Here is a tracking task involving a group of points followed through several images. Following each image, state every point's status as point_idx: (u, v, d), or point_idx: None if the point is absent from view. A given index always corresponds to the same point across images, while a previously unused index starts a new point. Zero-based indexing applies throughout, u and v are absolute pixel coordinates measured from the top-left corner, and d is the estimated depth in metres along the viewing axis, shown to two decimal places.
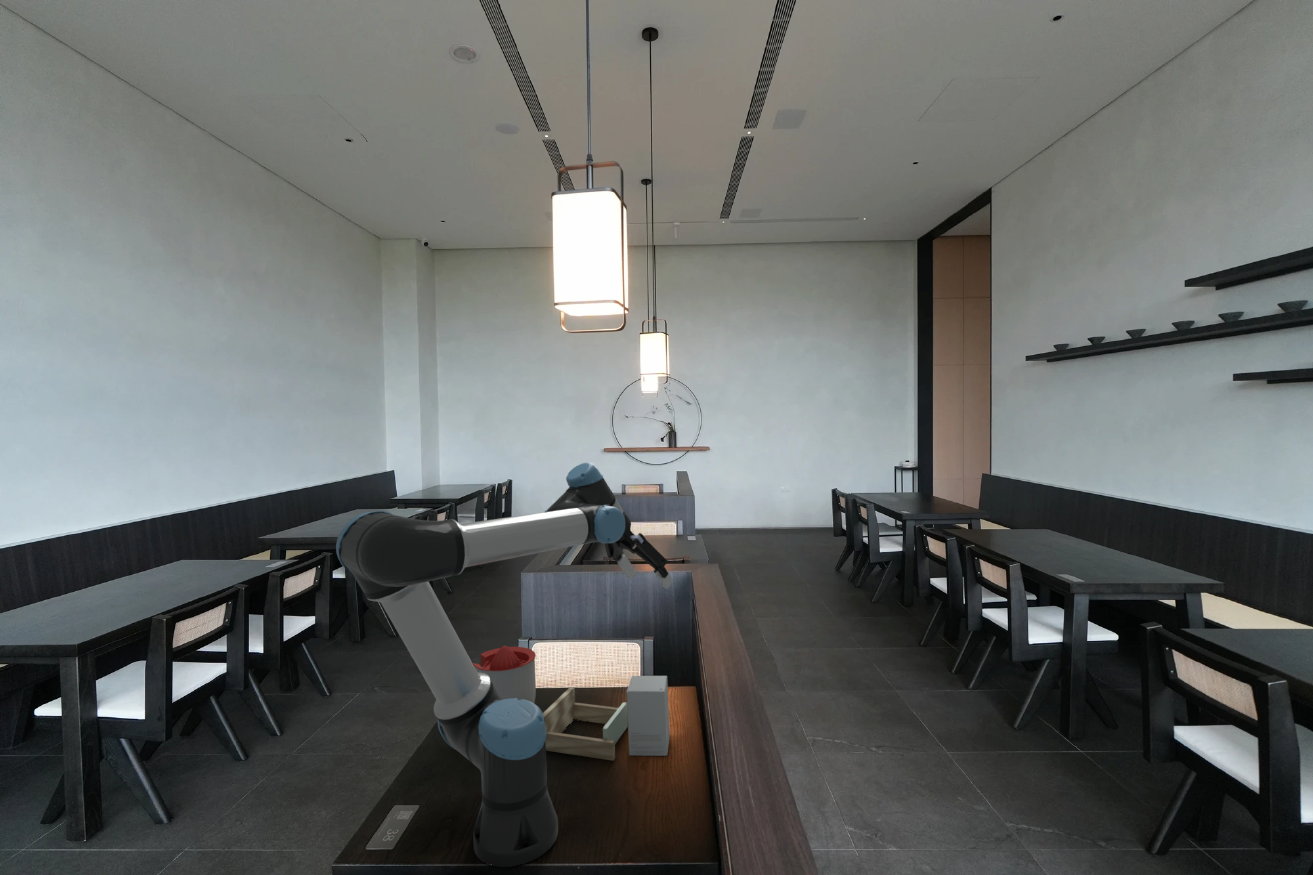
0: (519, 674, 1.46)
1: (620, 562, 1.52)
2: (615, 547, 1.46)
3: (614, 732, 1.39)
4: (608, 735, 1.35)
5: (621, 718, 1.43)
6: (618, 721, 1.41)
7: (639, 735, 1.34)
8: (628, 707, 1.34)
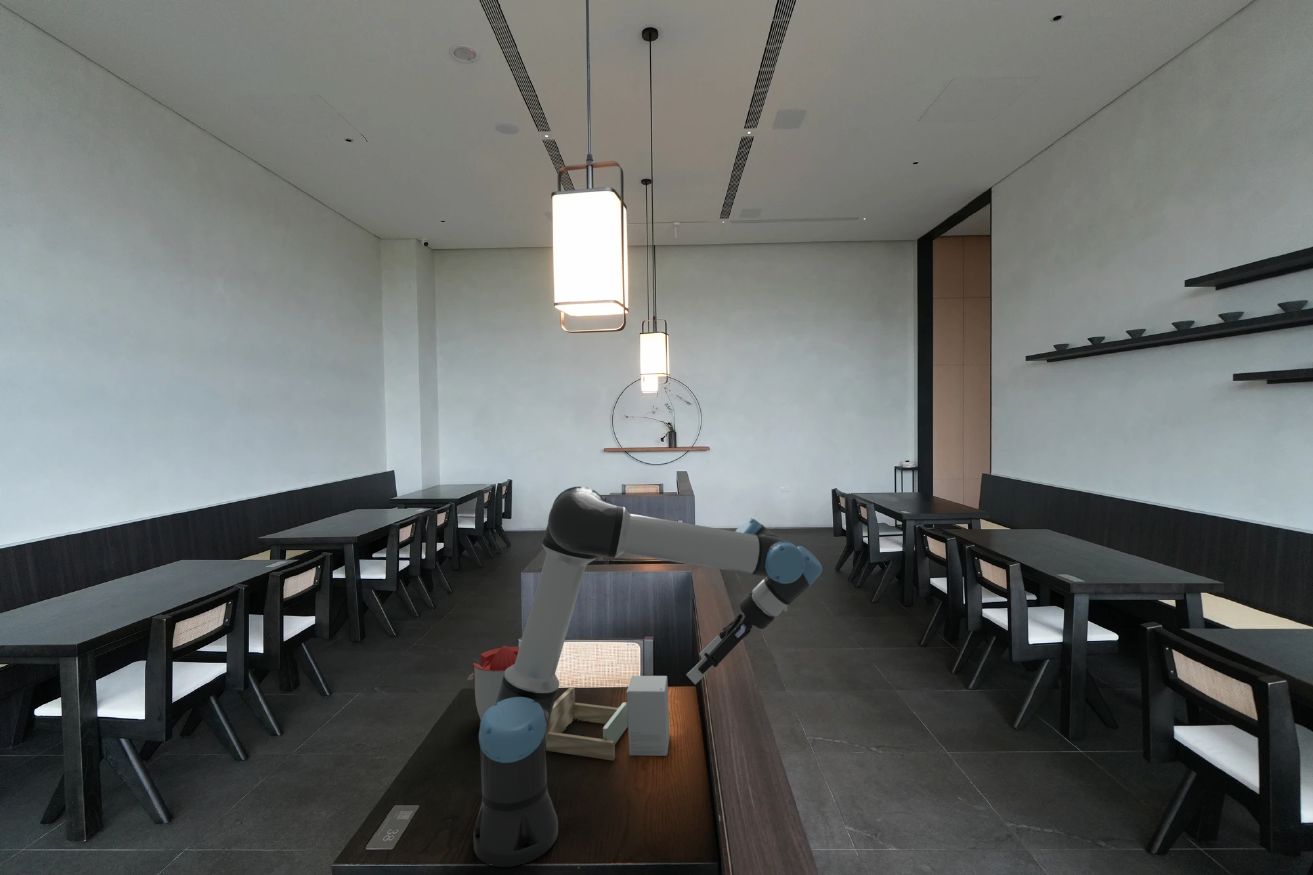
0: None
1: (717, 638, 1.39)
2: (733, 620, 1.34)
3: (614, 732, 1.39)
4: (608, 735, 1.35)
5: (621, 718, 1.43)
6: (618, 721, 1.41)
7: (639, 735, 1.34)
8: (628, 707, 1.34)
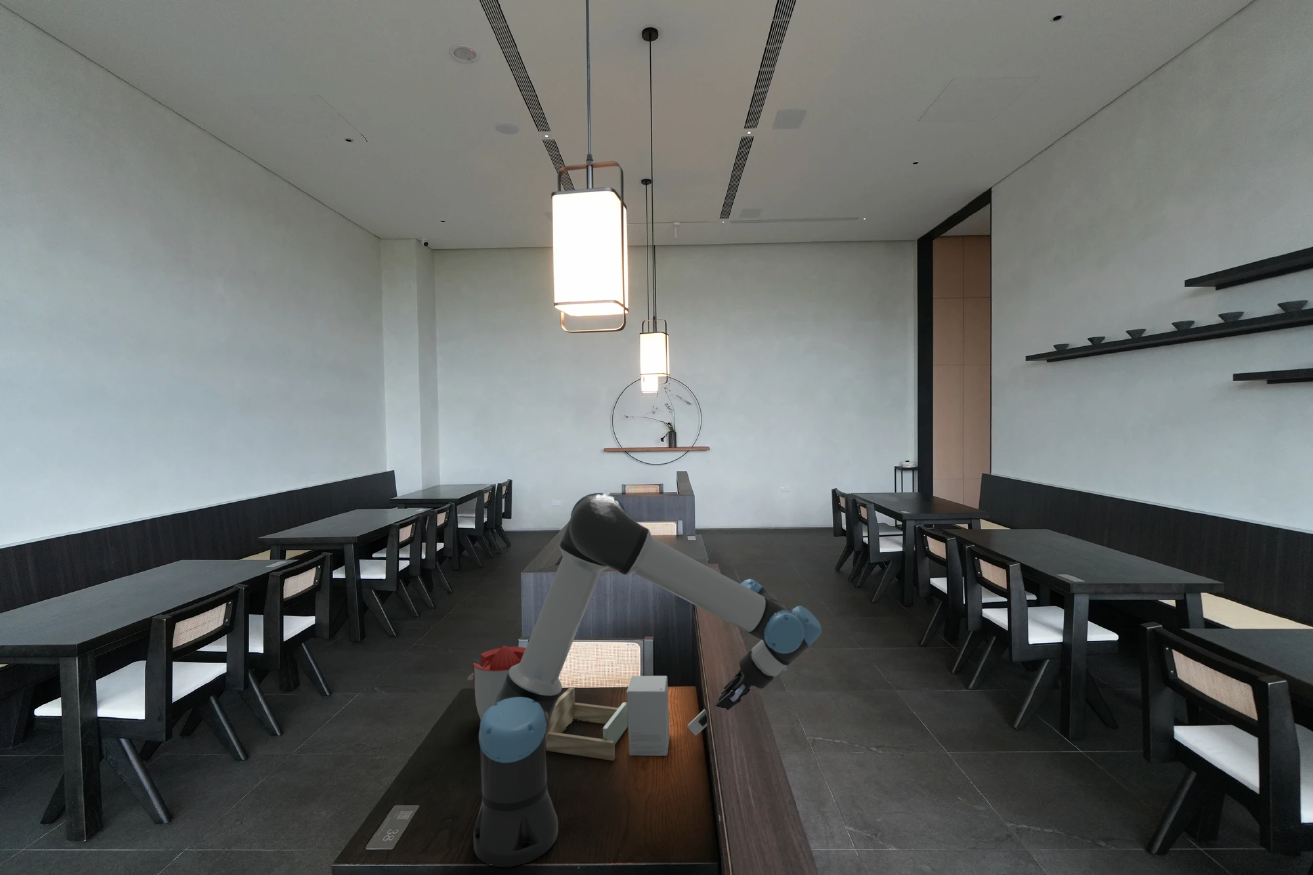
0: None
1: (706, 709, 1.34)
2: (731, 681, 1.33)
3: (614, 732, 1.39)
4: (608, 735, 1.35)
5: (621, 718, 1.43)
6: (618, 721, 1.41)
7: (639, 735, 1.34)
8: (628, 707, 1.34)
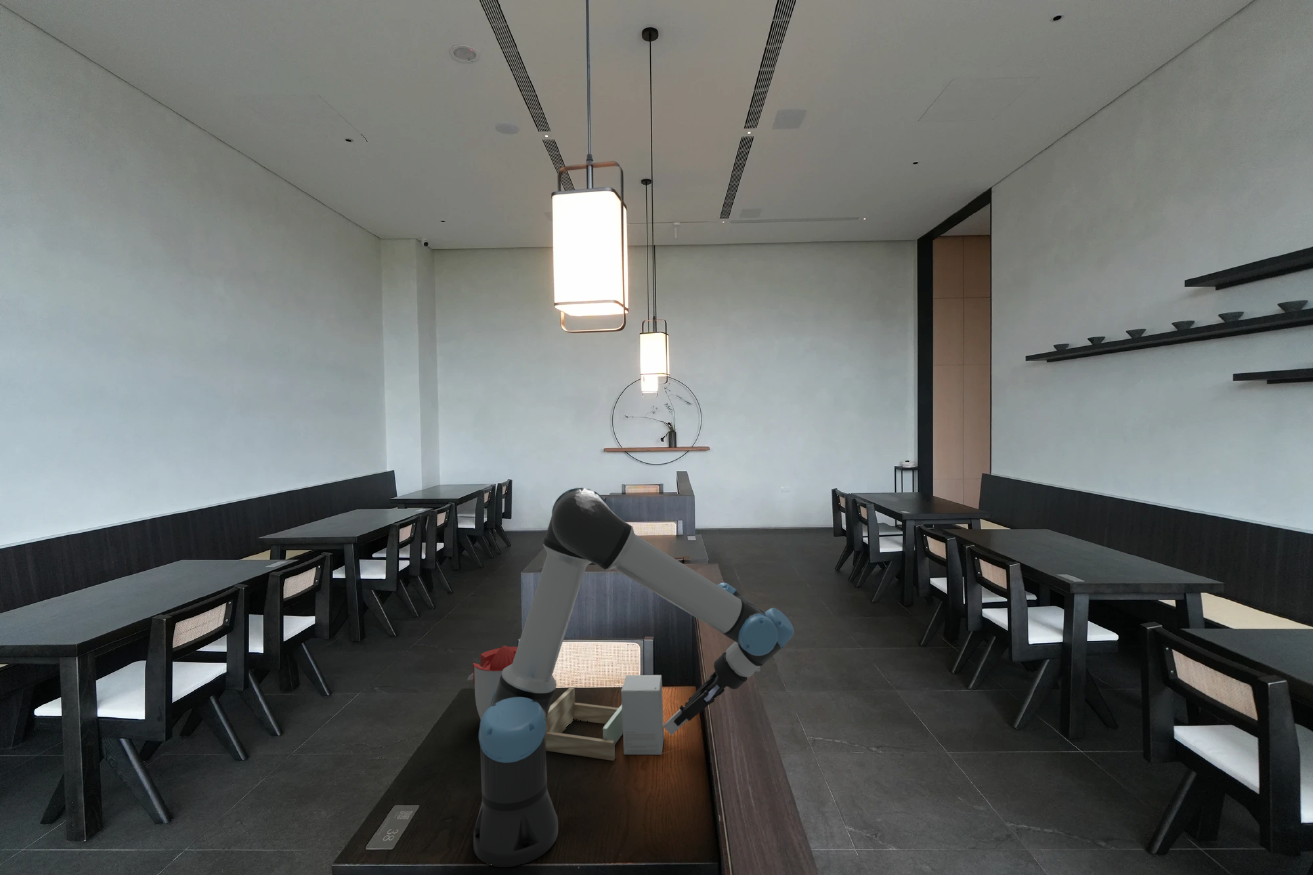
0: None
1: None
2: (706, 681, 1.36)
3: (614, 732, 1.39)
4: (608, 735, 1.35)
5: (621, 718, 1.43)
6: (618, 721, 1.41)
7: (634, 734, 1.34)
8: (623, 706, 1.35)
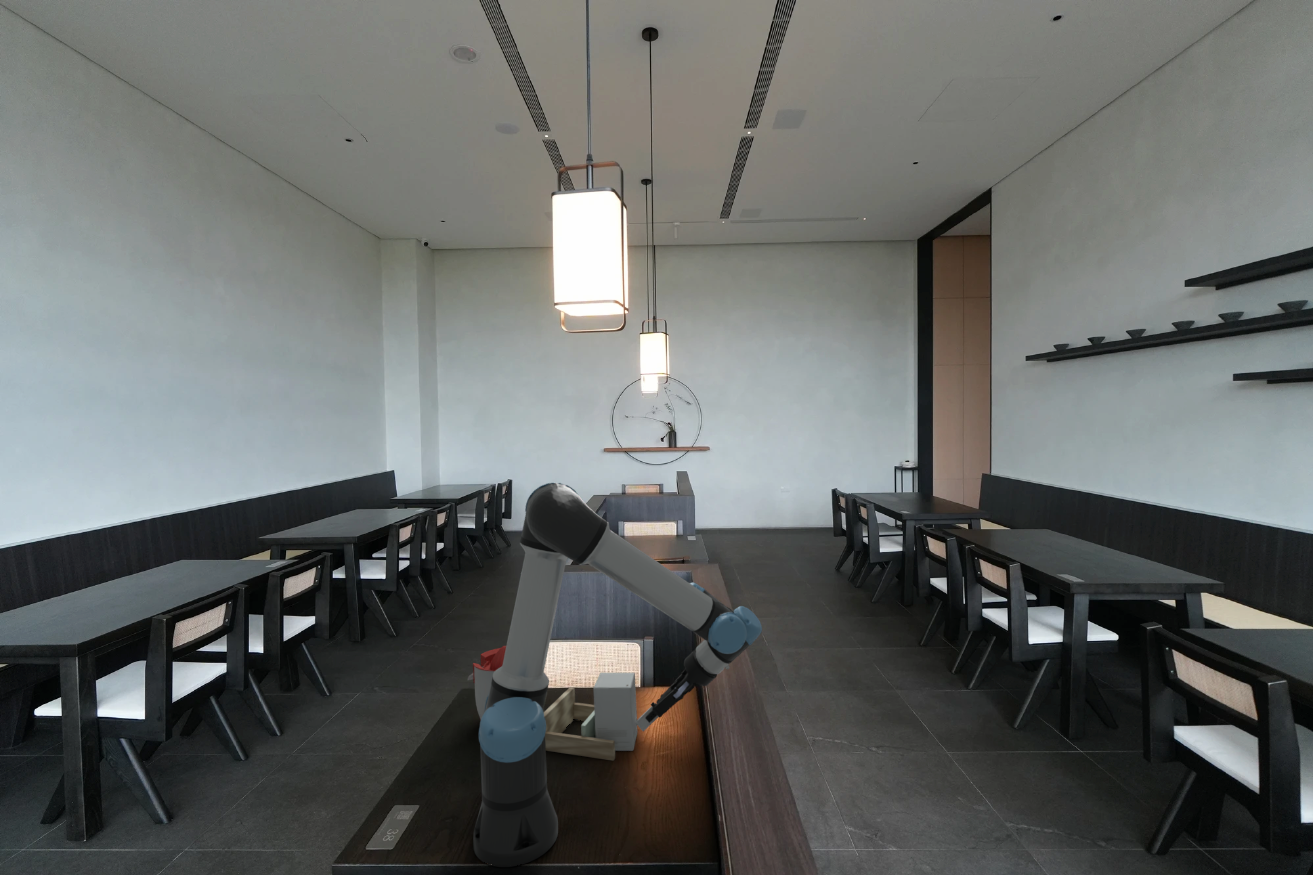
0: None
1: (653, 706, 1.38)
2: (677, 678, 1.38)
3: (593, 729, 1.40)
4: (586, 732, 1.37)
5: None
6: None
7: (606, 730, 1.37)
8: (595, 703, 1.37)
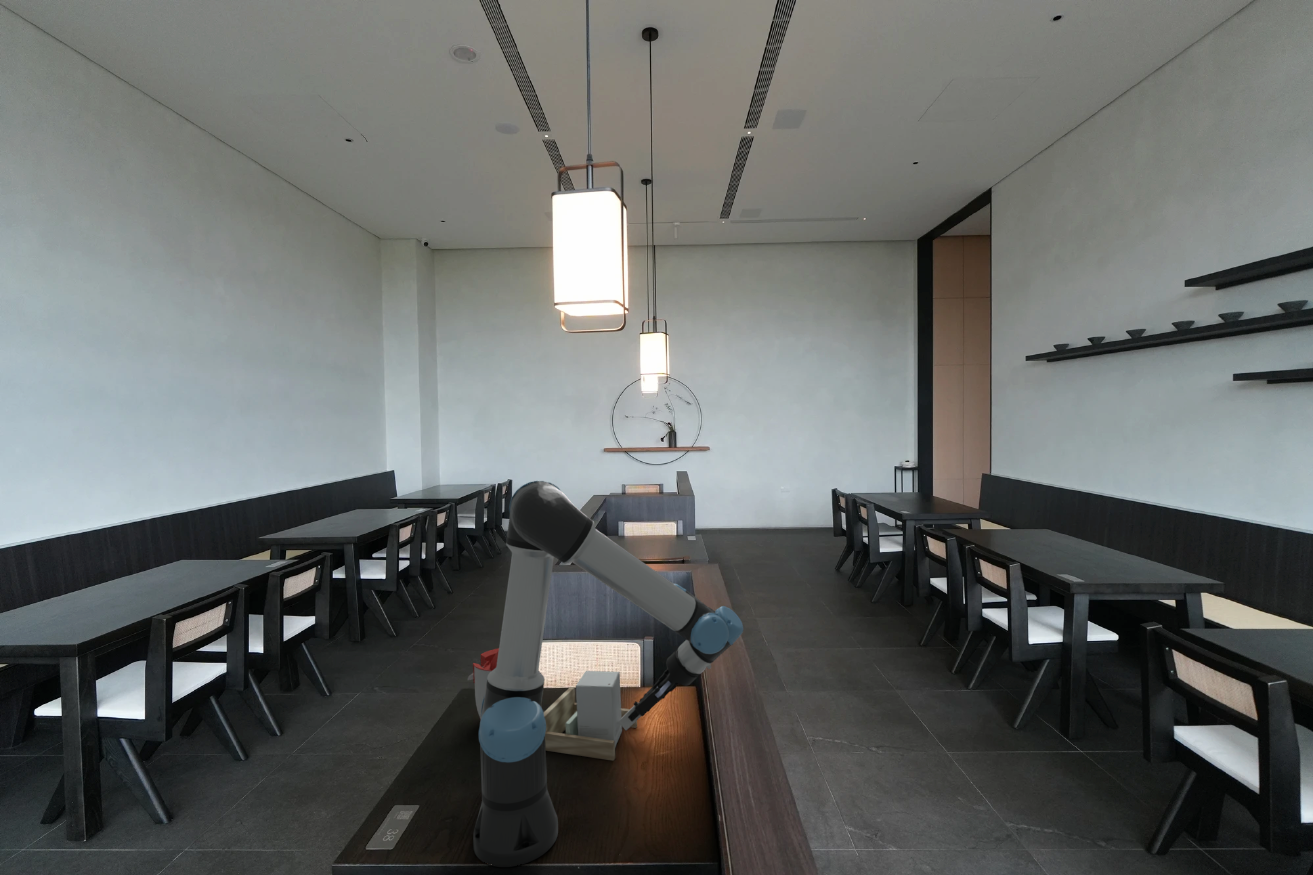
0: None
1: None
2: (659, 678, 1.39)
3: (577, 727, 1.42)
4: (571, 730, 1.38)
5: None
6: None
7: (588, 728, 1.38)
8: (577, 701, 1.38)
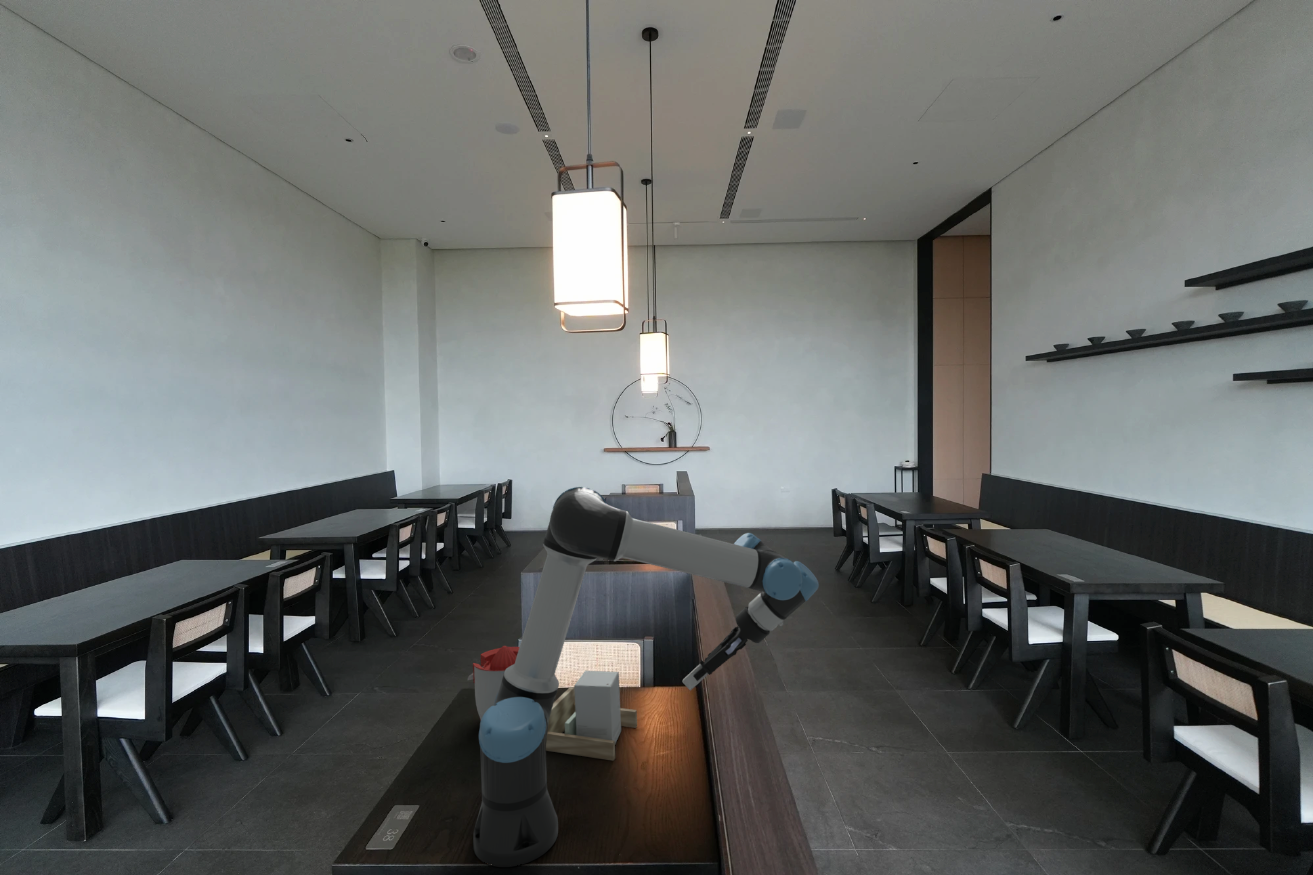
0: None
1: (702, 664, 1.34)
2: (726, 636, 1.34)
3: None
4: (570, 730, 1.38)
5: None
6: None
7: (586, 728, 1.38)
8: (576, 700, 1.38)
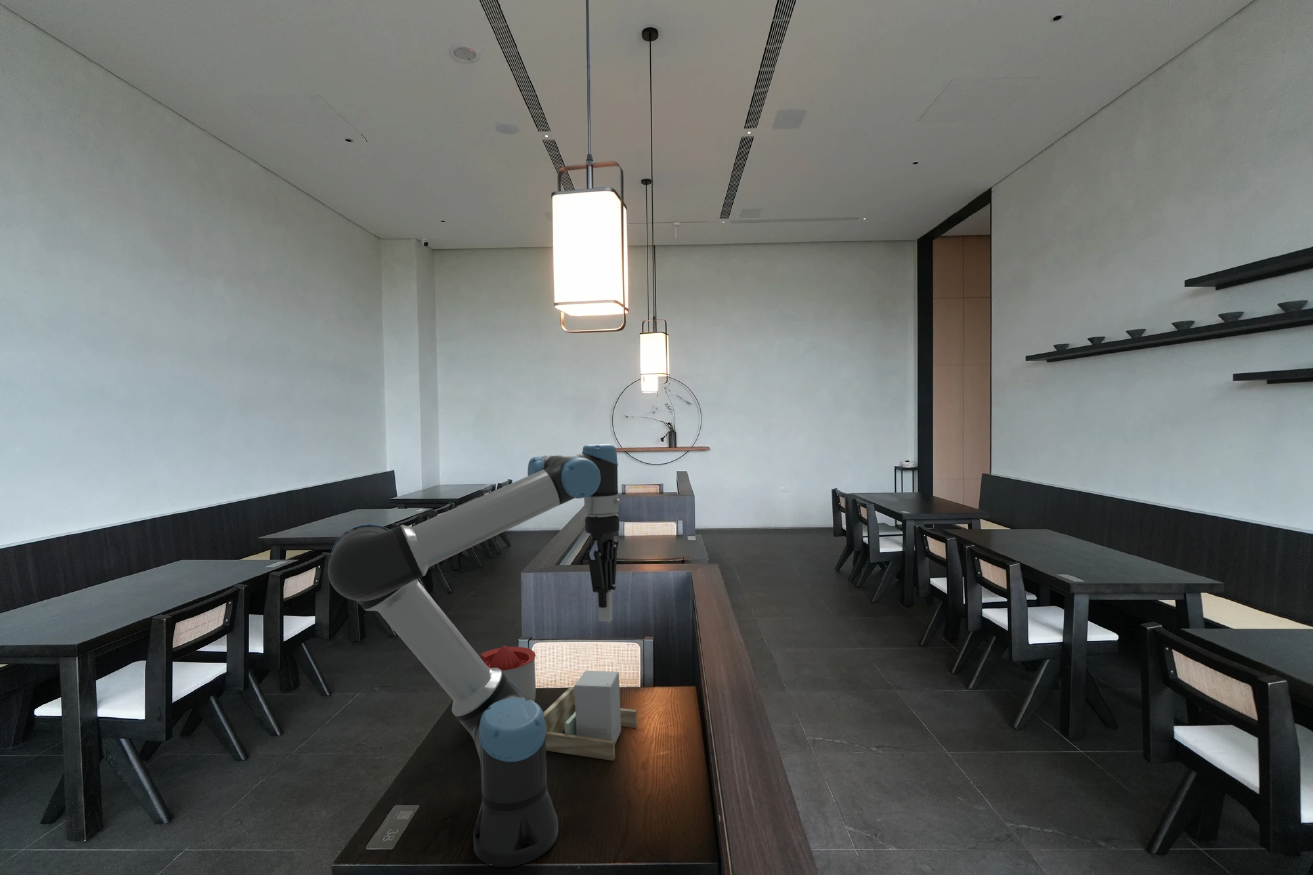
0: (519, 674, 1.46)
1: None
2: None
3: None
4: (570, 730, 1.38)
5: None
6: None
7: (586, 728, 1.38)
8: (576, 700, 1.38)
